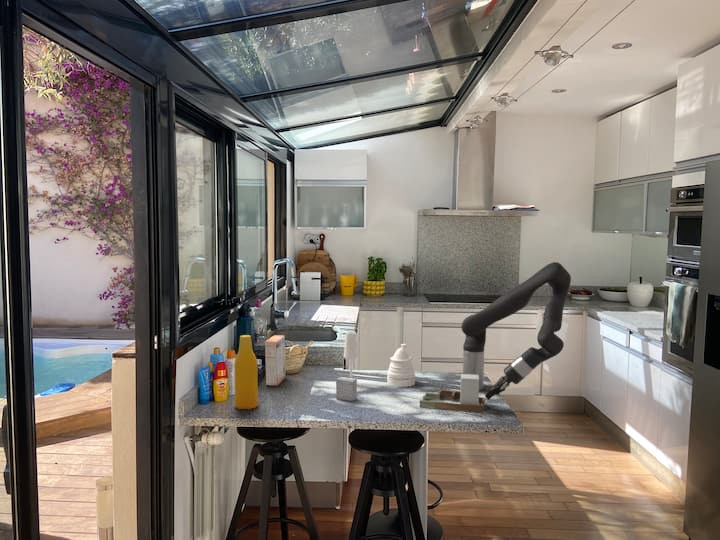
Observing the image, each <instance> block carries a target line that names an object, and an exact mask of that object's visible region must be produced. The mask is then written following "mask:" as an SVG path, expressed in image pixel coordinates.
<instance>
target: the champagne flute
mask: <svg viewBox="0 0 720 540" xmlns="http://www.w3.org/2000/svg"><path fill="white" fill-rule="evenodd" d="M344 339H345V340H344V351H343V358H344V360H345V361H346V362H347V363H348V364H349V378H353V363H355V362H356V361H357V359H358V358H359V351H358V350H359V349H358V341H357V340H358V339H357V332H356V331H347V332H345V338H344ZM358 385H359V382H357V386H358Z"/></svg>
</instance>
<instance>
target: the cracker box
mask: <svg viewBox="0 0 720 540" xmlns="http://www.w3.org/2000/svg"><path fill="white" fill-rule="evenodd" d="M285 339H286V337H285V335H277V334H276V335H273V336H271V337H269V338H268V339H266V340H265V341H264V349H265V353H264V354H265V355H264V356H265V357H264V358H265V385H266V386H267V385H269V386H274V387H277V386H279V385H280V384H281V383H282V382H283V381H284V380H285V379H286V344H285V343H286V342H285Z"/></svg>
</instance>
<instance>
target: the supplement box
mask: <svg viewBox="0 0 720 540" xmlns="http://www.w3.org/2000/svg"><path fill="white" fill-rule="evenodd" d="M459 388H460V390H459V392H460V401H459V404H468V405H478V406H480V404H479V397H480V390H479V375H471V374H463V373H461V374H460V387H459Z"/></svg>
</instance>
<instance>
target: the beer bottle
mask: <svg viewBox="0 0 720 540" xmlns="http://www.w3.org/2000/svg"><path fill="white" fill-rule="evenodd" d="M252 342H253V341H252V336H251V335H249V334H244V335H240V336H239V346H238V347H239V348H238V352H237V355H236V357H235V359H234V365H233V366H234V406H235V408H236V409H238V410H241V409H248V410H253V409H255V408H256V407H258V405H259V391H258V389H259V388H258V387H259V386H258V384H259V382H258V381H259V378H258V374H259V373H258V360H257V357H256V354H255V353H254V350H253V344H252ZM252 408H253V409H252Z"/></svg>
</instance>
